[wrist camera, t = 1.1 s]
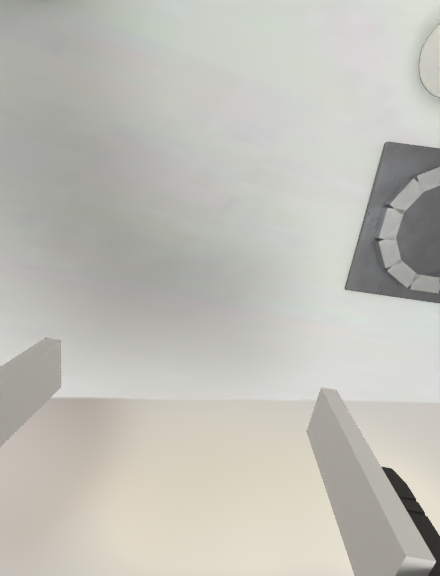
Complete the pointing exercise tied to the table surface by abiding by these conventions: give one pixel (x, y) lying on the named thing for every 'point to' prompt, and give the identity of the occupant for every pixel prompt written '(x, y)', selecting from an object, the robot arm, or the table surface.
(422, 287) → the ring seat
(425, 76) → the pill bottle
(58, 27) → the table surface
